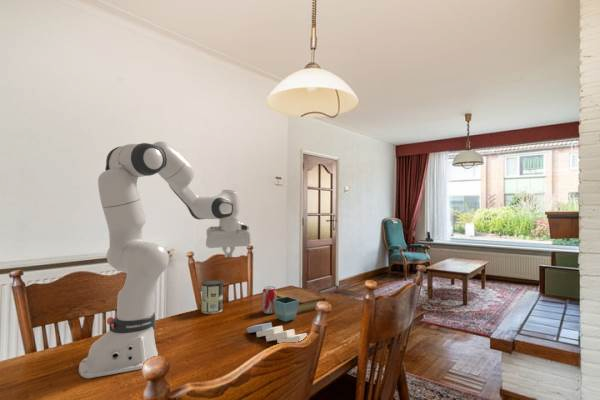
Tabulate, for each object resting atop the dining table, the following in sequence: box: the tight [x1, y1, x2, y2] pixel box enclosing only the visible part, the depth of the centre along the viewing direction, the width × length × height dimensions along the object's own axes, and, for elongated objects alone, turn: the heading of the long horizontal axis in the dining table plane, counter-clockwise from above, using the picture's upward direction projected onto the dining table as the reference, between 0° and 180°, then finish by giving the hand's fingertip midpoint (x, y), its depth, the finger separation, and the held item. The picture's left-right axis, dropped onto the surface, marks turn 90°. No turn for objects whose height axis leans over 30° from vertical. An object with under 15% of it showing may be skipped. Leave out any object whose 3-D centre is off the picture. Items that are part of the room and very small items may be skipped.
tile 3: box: [276, 332, 308, 344], centre depth 118 cm, size 5×2×10 cm
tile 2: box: [265, 328, 296, 342], centre depth 122 cm, size 5×2×10 cm
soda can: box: [261, 285, 278, 315], centre depth 158 cm, size 7×7×12 cm
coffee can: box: [201, 279, 224, 315], centre depth 159 cm, size 10×10×14 cm
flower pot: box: [273, 297, 299, 323], centre depth 148 cm, size 9×9×9 cm
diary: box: [277, 288, 327, 315], centre depth 170 cm, size 23×19×6 cm
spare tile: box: [246, 321, 273, 334], centre depth 130 cm, size 5×2×10 cm
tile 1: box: [255, 325, 284, 338], centre depth 126 cm, size 5×2×10 cm
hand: (228, 257), depth 145 cm, fingers closed
